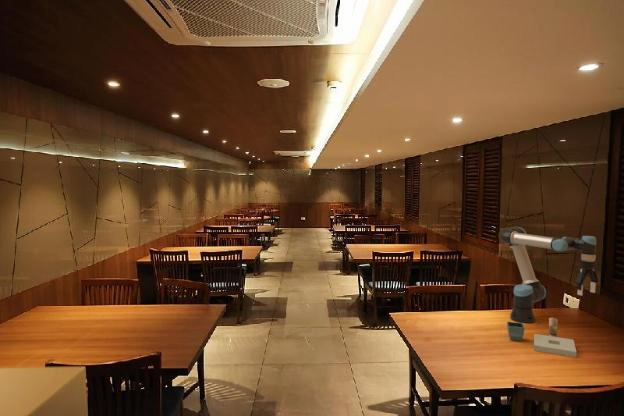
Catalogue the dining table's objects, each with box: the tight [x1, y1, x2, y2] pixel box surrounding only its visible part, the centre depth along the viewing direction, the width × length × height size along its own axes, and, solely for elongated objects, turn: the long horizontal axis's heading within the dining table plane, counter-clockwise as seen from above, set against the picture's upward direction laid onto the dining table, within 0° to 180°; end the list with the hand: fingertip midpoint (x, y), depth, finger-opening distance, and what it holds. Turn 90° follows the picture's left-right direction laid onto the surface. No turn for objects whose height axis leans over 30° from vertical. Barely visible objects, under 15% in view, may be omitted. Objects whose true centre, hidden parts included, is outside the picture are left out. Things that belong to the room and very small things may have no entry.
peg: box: [548, 317, 559, 337], centre depth 249 cm, size 4×4×12 cm
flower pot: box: [506, 321, 526, 342], centre depth 248 cm, size 9×9×9 cm
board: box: [533, 333, 577, 358], centre depth 235 cm, size 20×20×3 cm
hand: (586, 293), depth 262 cm, fingers open, 13 cm apart
